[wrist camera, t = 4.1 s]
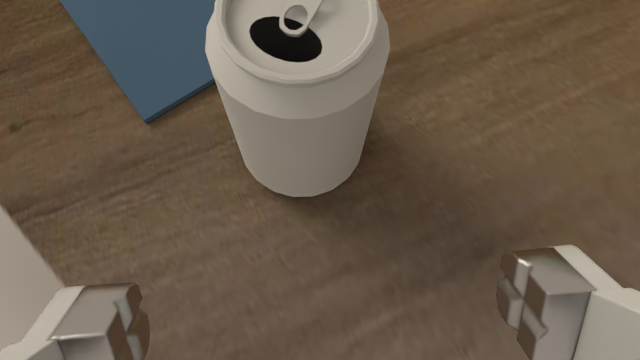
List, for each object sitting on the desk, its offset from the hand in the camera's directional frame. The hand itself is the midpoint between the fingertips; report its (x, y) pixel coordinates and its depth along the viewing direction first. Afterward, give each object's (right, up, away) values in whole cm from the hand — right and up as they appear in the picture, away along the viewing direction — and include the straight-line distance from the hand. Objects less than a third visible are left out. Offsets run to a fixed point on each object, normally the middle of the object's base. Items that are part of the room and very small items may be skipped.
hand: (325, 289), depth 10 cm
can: (-1, +5, +18) cm, 18 cm away
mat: (-9, +14, +21) cm, 27 cm away
